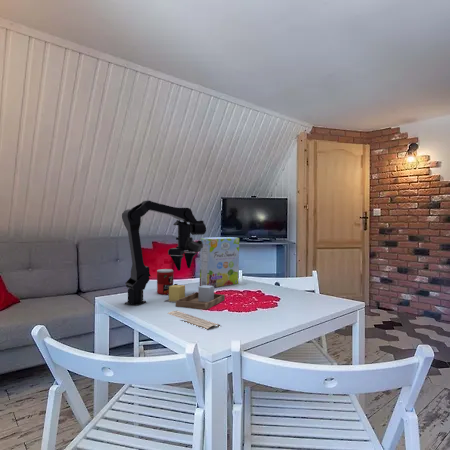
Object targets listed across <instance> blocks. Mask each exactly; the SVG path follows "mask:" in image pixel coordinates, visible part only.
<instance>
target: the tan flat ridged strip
mask: <svg viewBox="0 0 450 450" xmlns="http://www.w3.org/2000/svg"><path fill="white" fill-rule="evenodd" d="M167 314H168V315H171V316H174V317H175V318H179V319H180V321H181V322H183V321H184V323H186V322H187V324H189V323H190V324H189V325H192V324H193V325H192V326H194V325H196V326H195V327H197V326H198V327H197V328H200V327H202V328H201V329H203V328H205V329H208V330H209V329H210V328H211V327H213V326H216V325H218V326H217V327H219V326H220V325H221V324H218V323H216V322H212V321H209V320H207V319H204V318H201V317H197V316H194V315H192V314H188V313H185V312H182V311H179V310H172V311H169V312H168V313H167ZM220 327H221V326H220ZM205 329H204V330H205Z"/></svg>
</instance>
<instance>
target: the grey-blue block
mask: <svg viewBox="0 0 450 450" xmlns="http://www.w3.org/2000/svg"><path fill="white" fill-rule="evenodd" d="M197 292H198V301H202V302H210V301H212V300H214V294H215V287H214V286H209V285H203V286H200V285H199V286H198V290H197Z"/></svg>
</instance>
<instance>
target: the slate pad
mask: <svg viewBox="0 0 450 450" xmlns="http://www.w3.org/2000/svg"><path fill="white" fill-rule="evenodd" d="M163 302H164V303H165V302H166V303H173V304H174V303H175V304H176V301H169V298H168V299H165V300H164V301H163Z"/></svg>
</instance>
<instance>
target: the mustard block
mask: <svg viewBox="0 0 450 450" xmlns="http://www.w3.org/2000/svg"><path fill="white" fill-rule="evenodd" d="M184 297H186V285H183V284H173V285H172V286H169V294H168V299H169V301H176V300H179V299H181V298H184Z"/></svg>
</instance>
